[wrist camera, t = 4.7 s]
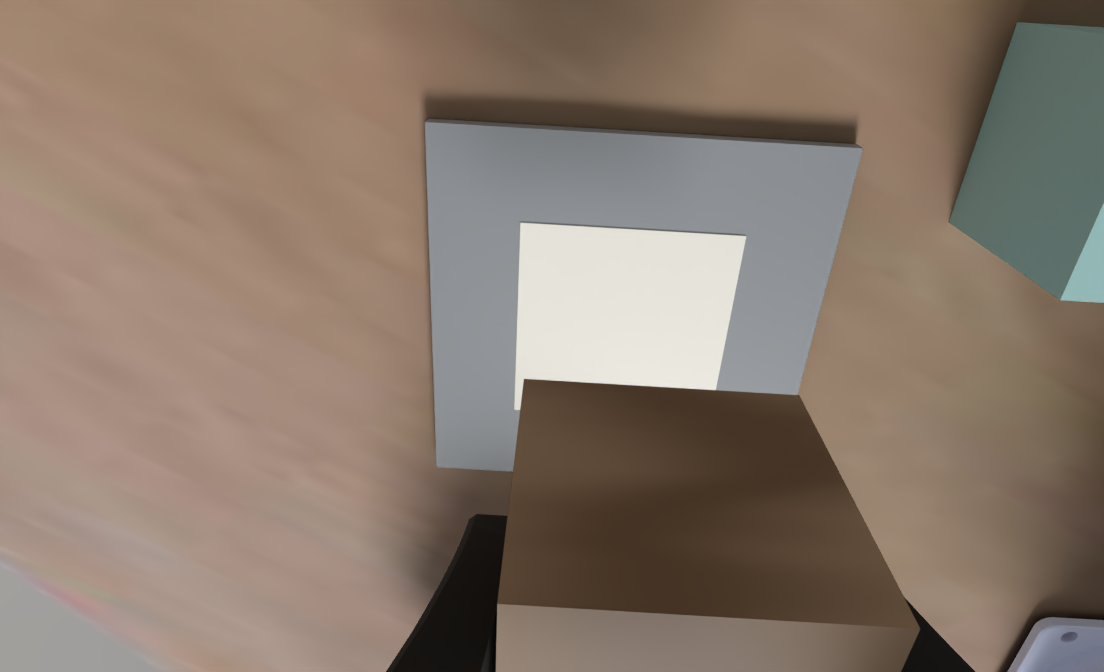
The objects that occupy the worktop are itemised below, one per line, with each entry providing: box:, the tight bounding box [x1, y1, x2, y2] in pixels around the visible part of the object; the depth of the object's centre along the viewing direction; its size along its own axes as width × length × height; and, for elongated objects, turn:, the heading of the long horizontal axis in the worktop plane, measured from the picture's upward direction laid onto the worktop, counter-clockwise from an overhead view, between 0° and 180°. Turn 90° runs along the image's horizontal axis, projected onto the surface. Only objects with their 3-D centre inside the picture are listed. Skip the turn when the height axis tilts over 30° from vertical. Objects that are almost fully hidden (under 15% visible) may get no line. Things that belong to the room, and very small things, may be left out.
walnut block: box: [496, 379, 920, 672], centre depth 10 cm, size 4×4×4 cm
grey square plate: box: [425, 119, 863, 472], centre depth 18 cm, size 10×10×1 cm
